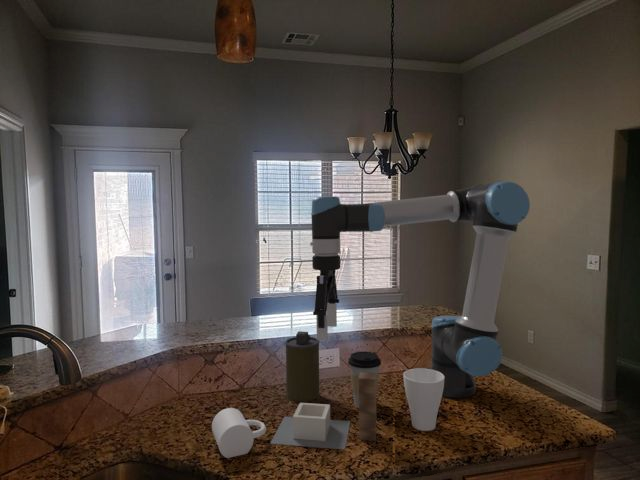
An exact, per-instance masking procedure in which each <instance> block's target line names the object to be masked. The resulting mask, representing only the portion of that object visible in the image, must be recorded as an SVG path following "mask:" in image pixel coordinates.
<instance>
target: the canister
mask: <svg viewBox="0 0 640 480" xmlns="http://www.w3.org/2000/svg"><path fill="white" fill-rule="evenodd" d="M295 335H296V336H294V337H290V338H287V339H285V342H284V344H285V380H286V381H285V382H286V383H285V384H286V385H285V386H286V388H285V389H286V391H285V392H286V394H285V396H286V398H287V399H288V400H290V401H293V402H300V403H308V402H311V401H314V400H317V399H320V397H321V393H320V345H319V344H320V341H321V340H317V337H313V336H310V334H309V331H297V333H296V334H295Z"/></svg>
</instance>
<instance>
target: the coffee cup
mask: <svg viewBox="0 0 640 480" xmlns="http://www.w3.org/2000/svg"><path fill="white" fill-rule="evenodd" d="M347 363H348V365H349V366H350V379H351V380H350V381H351V388H352V390H351V391H352V394H353V403H354V406H355V407H356V408H358V409H359V375H360V372H362V373H376V394H377V392H378V387H379V377H380V376H379V375H380V372H379V371H380V370H379V369H380V366H381V364H382V362H381V358H380V357H379V355H378V353H375V352H372V351H355V352H353V353H351V354H350V357H349V358H348V362H347Z"/></svg>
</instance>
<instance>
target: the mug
mask: <svg viewBox="0 0 640 480" xmlns="http://www.w3.org/2000/svg"><path fill="white" fill-rule="evenodd" d="M252 426H256V427H259V428H258V429H257V430H251V428H250V427H252ZM211 430H212V431H211V432H212V434H213V436H214V439H215V441H216V442H215V443H216V444H217V447H218V450H219V452H220V454H221V455H222V456H223V457H224V458H226V459H230V458H233V457H238V456H242V455H246V454H247V455H248V453H249V452H250V451H251V449H252V447H253V445H254V440H255V438H259V437H261V436H263V435H264V434H266V432H267V431H266V430H267V426H266V424H265V423H264V422H262V421H261V420H256V419H245V417H244V415H243V413H242V412H241V411H240V410H239V409H237V408H234V407H227V408H224V409H222V410H219V412H218V413H217V414H216V415H215V416H214V417H213V420H212V423H211Z"/></svg>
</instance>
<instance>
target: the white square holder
mask: <svg viewBox="0 0 640 480" xmlns="http://www.w3.org/2000/svg"><path fill="white" fill-rule="evenodd" d="M292 415H293V416H292V417H293V439H305V440H318V441H326V438H327V434H328V431H329V428H330V420H331V404H326V403H325V404H324V403H323V404H322V403H311V402H310V403H309V402H300V403H299V404H298V405H297V408H296V409H295V411H294V414H292Z"/></svg>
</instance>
